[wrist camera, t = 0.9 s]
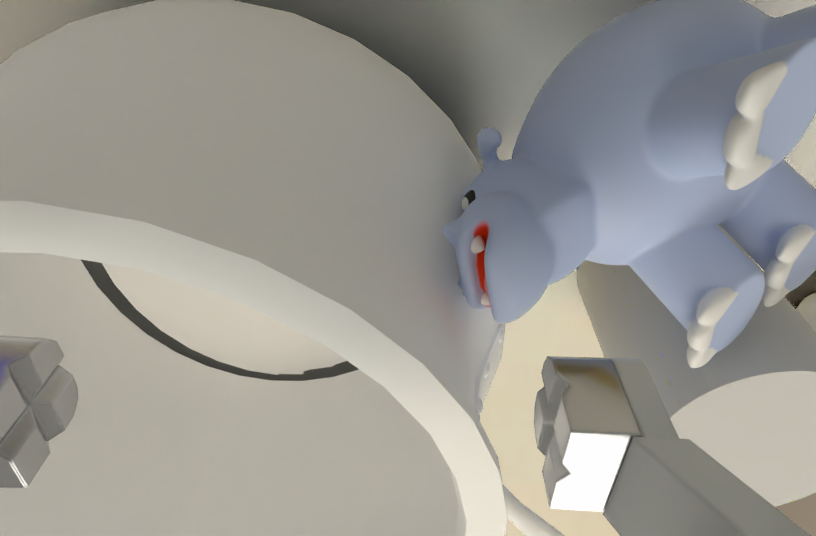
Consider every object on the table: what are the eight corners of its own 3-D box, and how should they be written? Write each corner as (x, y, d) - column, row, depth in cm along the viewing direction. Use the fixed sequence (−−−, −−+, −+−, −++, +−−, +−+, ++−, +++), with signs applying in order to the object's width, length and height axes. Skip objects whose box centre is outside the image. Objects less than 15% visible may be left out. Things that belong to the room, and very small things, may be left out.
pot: (617, 94, 26) (863, 365, 11) (443, 432, 39) (453, 753, 25) (-52, -125, 22) (-1008, -142, 7) (9, 335, 35) (-282, 652, 21)
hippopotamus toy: (577, 476, 17) (411, 310, 24) (863, 239, 22) (655, 153, 28) (570, 201, 10) (335, 72, 17) (1001, -75, 14) (679, -92, 21)
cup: (562, 320, 33) (621, 505, 23) (598, 197, 29) (688, 363, 19) (699, 329, 33) (814, 517, 24) (755, 208, 29) (928, 379, 19)
